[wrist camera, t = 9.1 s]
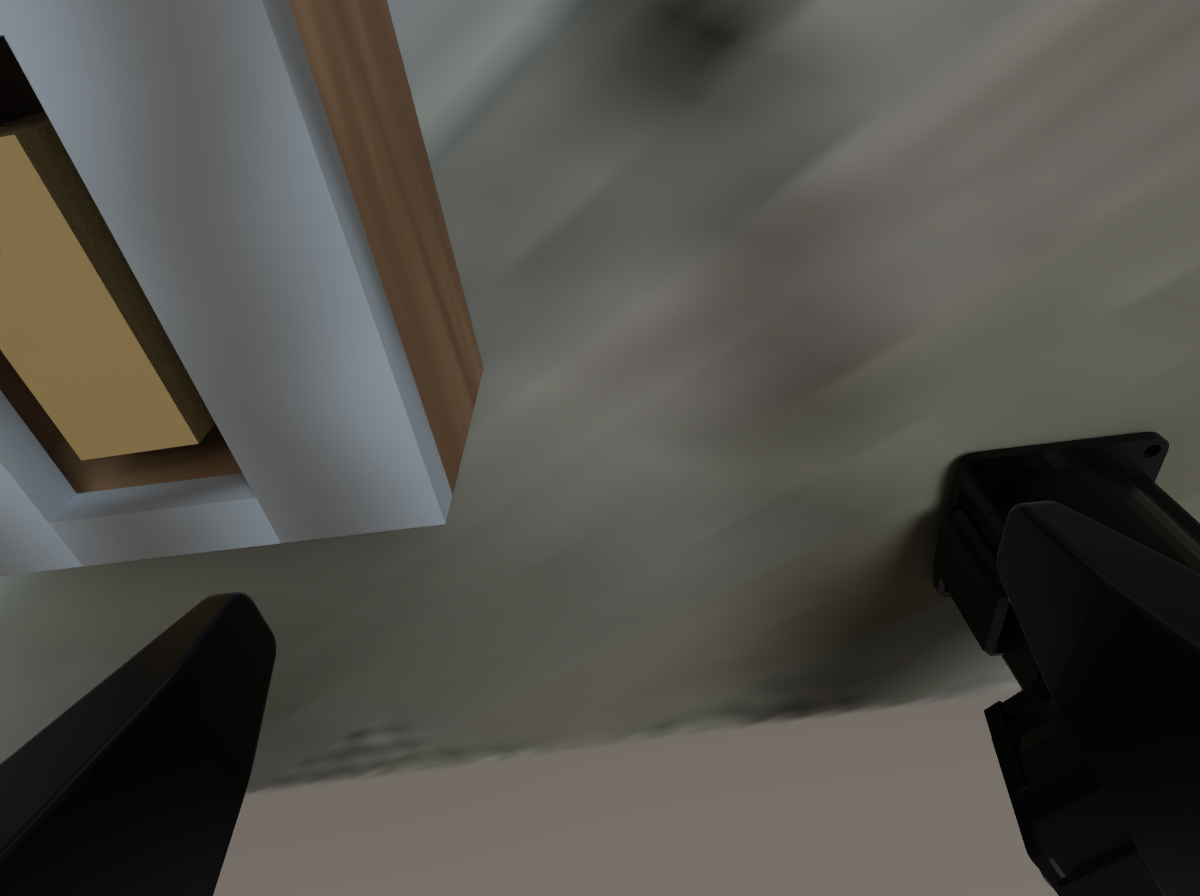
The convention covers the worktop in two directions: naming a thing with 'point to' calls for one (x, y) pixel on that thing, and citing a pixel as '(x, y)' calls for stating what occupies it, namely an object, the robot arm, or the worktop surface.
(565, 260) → the worktop surface
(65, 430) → the wooden rectangular block
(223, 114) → the coin box
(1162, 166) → the worktop surface
